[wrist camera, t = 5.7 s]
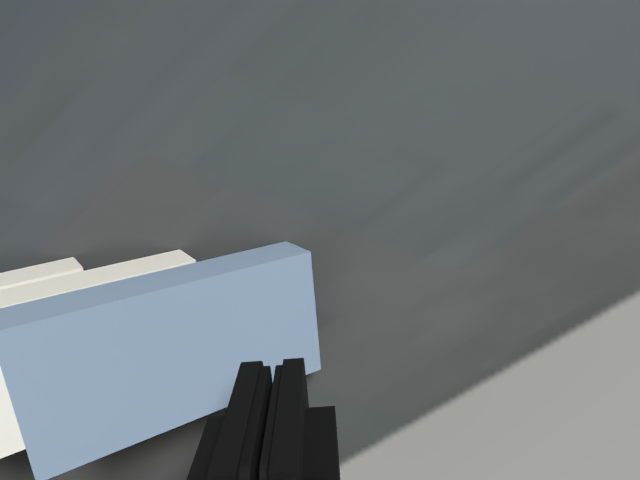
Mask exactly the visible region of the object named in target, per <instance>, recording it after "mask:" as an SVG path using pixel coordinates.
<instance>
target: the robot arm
mask: <svg viewBox="0 0 640 480" xmlns="http://www.w3.org/2000/svg"><path fill="white" fill-rule="evenodd" d="M187 480H340V469H339V454H338V440H337V427H336V415H335V406H327V407H313V408H309V403H308V393H307V383H306V372H305V362H304V358H292V359H283V365H276V366H275V372H274V379H273V382H272V374H271V367H270V366H263V362H262V361H250V362H241V364H240V367H239V370H238V374H237V377H236V380H235V384H234V387H233V390H232V394H231V397H230V400H229V404H228V407H227V410H226V414H213V415H210V416H209V418H208V421H207V423H206V426H205V429H204V432H203V435H202V438H201V440H200V443H199V446H198V449H197V452H196V455H195V457H194V460H193V463H192V466H191V469H190V472H189V474H188V477H187Z"/></svg>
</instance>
